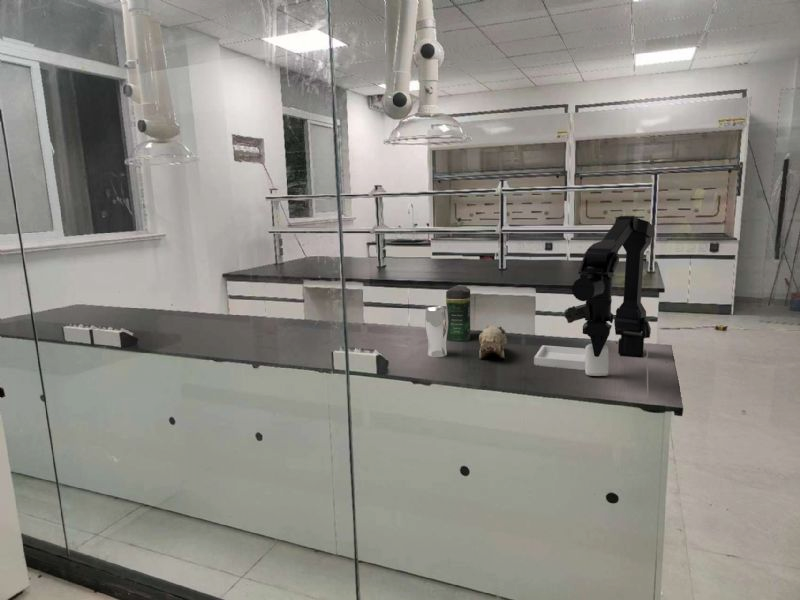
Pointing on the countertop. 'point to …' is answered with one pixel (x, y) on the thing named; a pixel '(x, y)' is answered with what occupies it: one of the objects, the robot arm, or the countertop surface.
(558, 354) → the tray
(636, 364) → the countertop surface
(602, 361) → the eye dropper bottle
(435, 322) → the beer glass
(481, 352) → the animal skull replica
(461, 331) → the coffee jar
